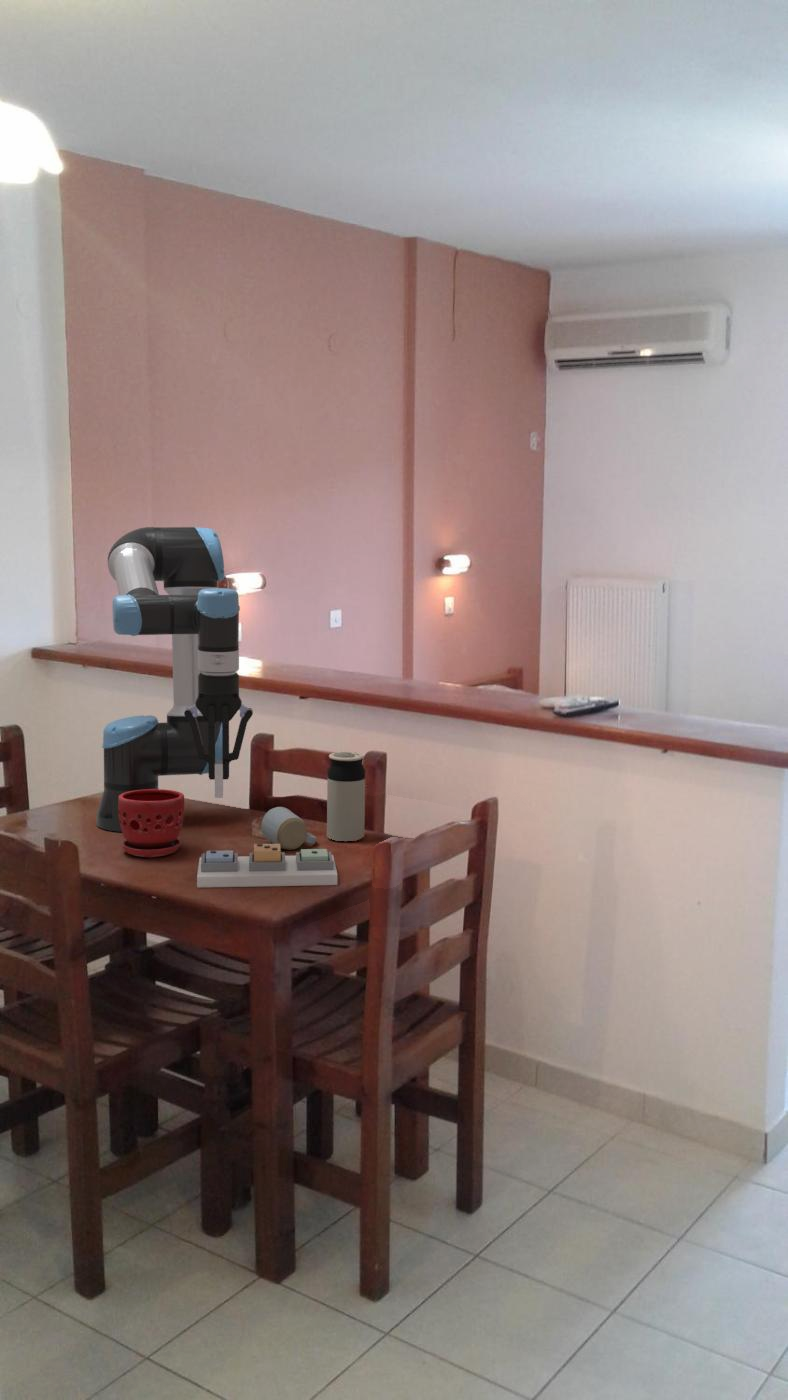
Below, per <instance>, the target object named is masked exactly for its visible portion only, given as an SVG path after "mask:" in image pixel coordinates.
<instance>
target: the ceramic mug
mask: <svg viewBox="0 0 788 1400" xmlns="http://www.w3.org/2000/svg"><path fill="white" fill-rule="evenodd" d="M260 825H261V827H260V829H261V832H262V833H261V834H262V835H263V837H264V838H265V840H266V841H269V842H271V844H280V849H282V850H287V851H293V850H297V849H299V848H300V847H301V846H303V844H304V843H307V844H309V845H315V844H316V841H317V839H318V838H317V836H315V835H313V834H312V833H310V832H308V827H307V825H306V823H305V821H304V820H303V819H302V818H301V817H299V816H298V815H297V814H295V813H294V812H292V811H291V810H290V809H288V808H286V807H283V806H277V807H273V808H271V809H269V810H268V811H267V812H266V813H265V814H264V816H263V818H262V820H261V824H260Z"/></svg>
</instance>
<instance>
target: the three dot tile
mask: <svg viewBox="0 0 788 1400" xmlns="http://www.w3.org/2000/svg"><path fill="white" fill-rule="evenodd" d="M281 849H282V848H280V844H273V843H254V844H253V853H254V862H262V861H281V852H282V851H281Z"/></svg>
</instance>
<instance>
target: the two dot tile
mask: <svg viewBox="0 0 788 1400" xmlns="http://www.w3.org/2000/svg"><path fill="white" fill-rule="evenodd" d="M233 853H234V850H231V849H230V850H227V849H226V850H206V853H205V854H206V863H229V862H233Z"/></svg>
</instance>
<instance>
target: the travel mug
mask: <svg viewBox="0 0 788 1400" xmlns="http://www.w3.org/2000/svg"><path fill="white" fill-rule="evenodd" d="M328 757H329V759H330V760H329V761H330V765H329V767H328V769H327V773H326V774H327V776H326V777H327V781H326V782H327V784H326V785H327V786H326V787H327V788H326V790H327V792H326V794H327V795H326V796H327V797H326V809H327V810H326V837H327V839H329V840H331V839H332V840H331V841H333V840H335V841H334V842H337V841H352V840H356V839H360V838H362V837H363V836H364V837H365V823H366V822H365V819H366V818H365V817H366V815H365V814H366V813H365V812H366V811H365V809H366V804H365V803H366V769H365V768H364V765H363V759H364V758H365V755H364V754H363V753H361V752H358V751H357V752H356V751H337V752H332V753H331V752H330V754H329V755H328Z"/></svg>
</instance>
